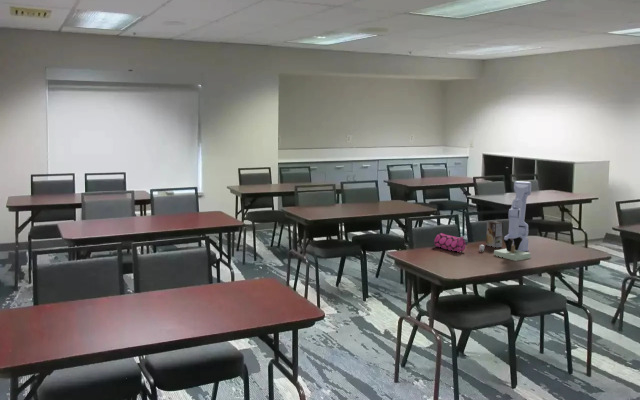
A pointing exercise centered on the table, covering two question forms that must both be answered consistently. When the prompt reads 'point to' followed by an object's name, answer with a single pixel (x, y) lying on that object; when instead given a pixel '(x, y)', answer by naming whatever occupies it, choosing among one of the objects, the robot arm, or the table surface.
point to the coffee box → (494, 234)
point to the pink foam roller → (450, 242)
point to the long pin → (512, 249)
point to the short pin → (481, 247)
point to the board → (512, 254)
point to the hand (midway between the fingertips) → (512, 250)
